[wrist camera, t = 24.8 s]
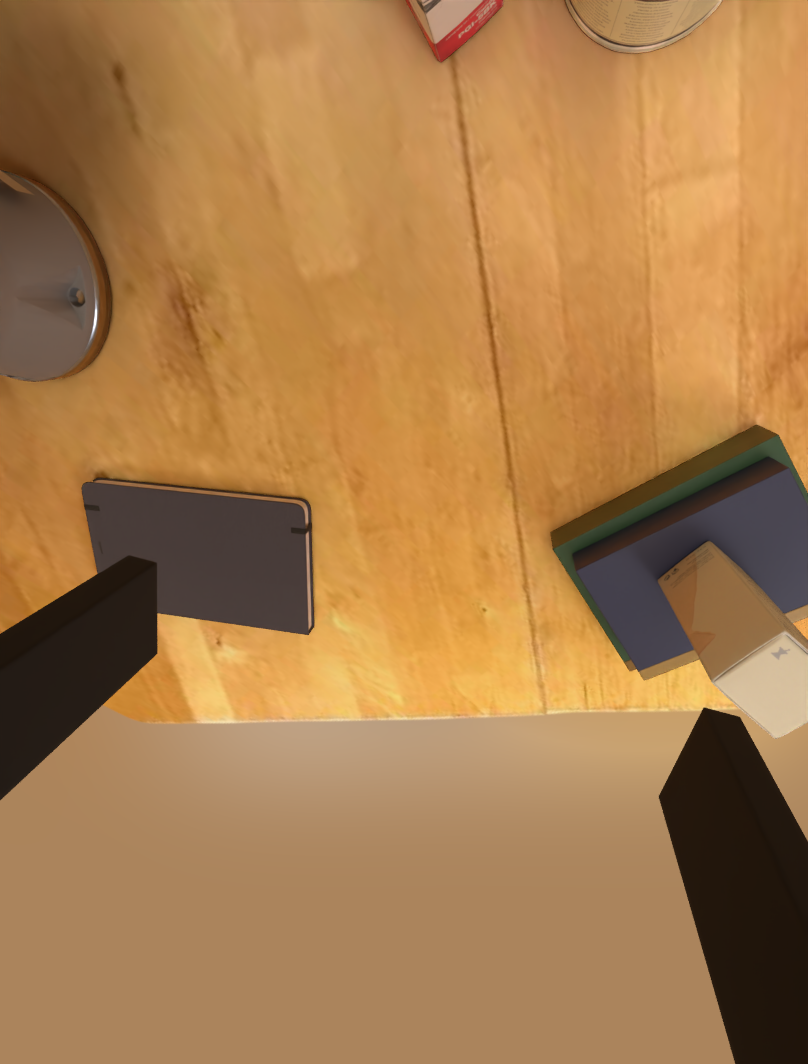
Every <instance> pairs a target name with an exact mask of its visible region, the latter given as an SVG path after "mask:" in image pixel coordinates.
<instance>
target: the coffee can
mask: <svg viewBox="0 0 808 1064" xmlns="http://www.w3.org/2000/svg"><path fill="white" fill-rule="evenodd" d="M722 1H723V0H565V2H566V4H567V7H568V9H569V11H570V13H571V15H572V17H573V18H574V20H575V21H576V23H577V24H578V26H579V27H580V28H581V29H582V30H583V32H584V33H585V34H586V35H587V36H589V37H590V38H591V39H592V40H594V41H595V42H597V43H598V44H600V45H602V46H604V47H606V48H608V49H610V50H612V51H617V52H627V53H643V52H650V51H653V50H657V49H660V48H663V47H665V46H668V45H670V44H672V43H674V42H676V41H678V40H679V39H681V38H683V37H685V36H687V35H688V34H690V33H691V32H692V31H693V30H694V29H695V28H697V27H698V26H699V25H701V24H702V23H703V22H704V21H705V20H706V19H707V18H708V17H709V16H710V15H711V14H712V13H713V12H714V11H715V10H716V9H717V7H718V6H719V5H720V4H721V2H722Z"/></svg>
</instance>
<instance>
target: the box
mask: <svg viewBox="0 0 808 1064" xmlns="http://www.w3.org/2000/svg"><path fill="white" fill-rule="evenodd" d="M658 583H659V585H660V587H661V589H662V591H663V593H664V594H665V596H666V598H667V600H668V602H669V603H670V605H671V607H672V609H673V611H674V613H675V615H676V616H677V618H678V620H679V622H680V624H681V626H682V627H683V629H684V631H685V633H686V635H687V637H688V638H689V640H690V642H691V644H692V646H693V648H694V650H695V651H696V653H697V655H698V657H699V659H700V661H701V663H702V665H703V666H704V668H705V670H706V672H707V674H708V676H709V678H710V680H711V682H712V683H713V684H714V685H715V686H716V687H717V688H718V689H719V690H720V691H721V692H722V693H723V694H724V695H725V696H726V697H727V698H728V699H730V700H731V701H732V702H733V703H734V704H735V705H736V706H737V707H738V708H740V709H741V710H742V711H743V712H744V713H745V714H746V715H747V716H749V717H750V718H751V719H752V720H753V721H755V722H756V723H757V724H758V725H759V726H760V727H761V728H763V729H764V730H765V731H766V732H768V733H769V734H770V735H771V736H772V737H774V738H775V739H776V738H779V737H781V736H783V735H785V734H787V733H789V732H791V731H792V730H795V729H796V728H798V727H800V726H802V725H804V724H806V723H808V640H807V639H806V638H805V637H804V636H803V635H802V633H801V632H800V631H799V630H798V629H797V628H796V627H795V626H794V624H793V623H792V622H791V621H790V620H789V619H788V618H787V617H786V616H785V614H784V613H783V612H782V611H781V610H780V609H779V608H778V607H777V606H776V604H775V603H774V602H773V601H772V600H771V599H770V598H769V597H768V596H767V594H766V593H765V592H764V591H763V590H762V589H761V588H760V587H759V586H758V585H757V584H756V583H755V582H754V580H753V579H752V578H751V577H750V576H749V575H747V574H746V573H745V572H744V571H743V570H742V569H741V568H740V567H739V566H738V565H737V564H736V563H735V562H733V561H732V560H731V559H730V558H729V557H728V556H727V555H726V554H724V553H723V552H722V551H721V550H720V549H719V548H718V547H716V546H715V545H714V544H713V543H712V542H711V541H707V542H705V543H704V544H703V545H701V546H700V547H699V548H697V549H696V550H695V551H693V552H692V553H690V554H689V555H688V556H687V557H685V558H684V559H683V560H681V561H680V562H679V563H678V564H676V565H675V566H674V567H673V568H672V569H670V570H669V571H668V572H667V573H665V574H664V575H663V576H662V577H661V578H659V579H658Z"/></svg>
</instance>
